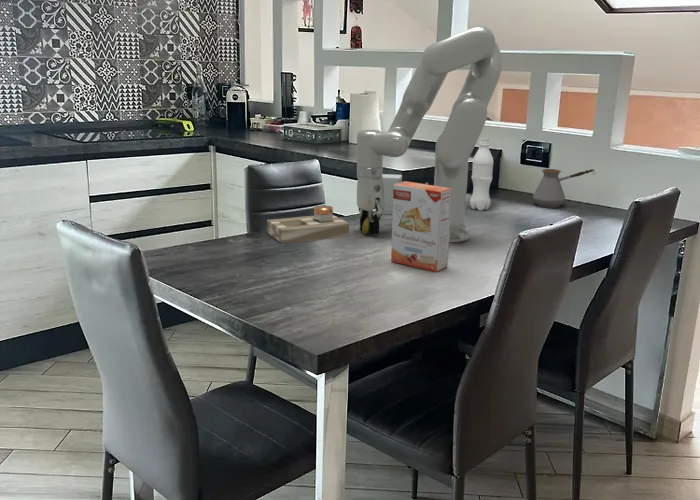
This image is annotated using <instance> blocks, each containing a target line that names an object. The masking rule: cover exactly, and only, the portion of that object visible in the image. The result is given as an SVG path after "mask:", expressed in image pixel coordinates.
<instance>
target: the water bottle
mask: <svg viewBox="0 0 700 500" xmlns="http://www.w3.org/2000/svg"><path fill="white" fill-rule="evenodd" d="M478 145H479V146H478V147H479V148H478V149H477V151H476V153H475V154H474V157H473V158H472V171H471V180H472V186H473V190H472V195H471V197H470V199H469V204H470V207H471V209H472V210H477V211H484V210H485V211H487V210H488V209H490V207H491V203H492V202H491V201H492V199H491V198H490V186H491V184H492V181H493V170H494V164H495V163H494V158H493V154H492V153H491V150H490V147H489V146H490V138H489V137H487V136H486V137H484V136H483V137H479V143H478Z"/></svg>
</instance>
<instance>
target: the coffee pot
mask: <svg viewBox="0 0 700 500" xmlns="http://www.w3.org/2000/svg"><path fill="white" fill-rule="evenodd" d="M541 171H542V172H543V174H542V175H543V176H542V178H541V180H540V182H539V183H538V186H537V187H536V190H535V191H534V193H533V195H532V200H533V201H534V203H535V204H536V205H537V206H539V207H542V208H551V209H552V208H553V209H554V208H558V207H560V205H562V204H563V203H565V201H566V196H565V193H564V190H563V187H562V185H561V184H562V183H561V181H564V180H567V179H570V178H576V177H579V176H583V175H585V174H589V173H592V175H593V176H595V173H596V171H595V169H593V168H592V169H589V170H588V169H586V170H584V171H579V172H576V173H573V174H571V175H567V176H563V177H560V176H559V175H560V173H561V170H560V169H554V168H544V169H542V170H541ZM559 177H560V178H559Z"/></svg>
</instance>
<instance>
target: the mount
mask: <svg viewBox="0 0 700 500" xmlns="http://www.w3.org/2000/svg"><path fill="white" fill-rule="evenodd" d="M266 222H267V223H266V224H267V230H266V233H267V234H268V233H269V234H268V235H269V236H271V237H272V236H273V237H272V238H273V239H275V240H276V239H277V241H278V242H279V243H281V244H282V245H285V244H293V243H294V244H295V243H302V242H311V241H319V240H330V239H337V238H338V239H339V238H346V237H350V223H349V222H347V221H346V220H344V219H342V218H340V217H338V216H336V215H334V214H333V221H332V222H322V223H318V222H317V221H315V220H314V215H309V216H306V215H305V216H297V217H287V218H286V217H285V218H276V219H275V218H274V219H267V220H266Z"/></svg>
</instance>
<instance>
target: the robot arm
mask: <svg viewBox="0 0 700 500" xmlns="http://www.w3.org/2000/svg"><path fill="white" fill-rule="evenodd" d="M501 54H502V53H501V50H500V47H499V45H498V43H497V42H496V37H495V35H494V33H493V31H492V30H491V29H489V28H488V27H486V26H484V25H483V26H482V25H480V26H479V25H478V26H474V27H472V28H471V27H470V29H466V30H464V31H462V32H459V33H457V34H454V35H452V36H450V37H447V38H444V39H442V40H439V41H437V42H433V43H431V44H429V45H428V46H427V47H426V48H425V49H424V51H423V54H422V56H421V58H420V61H419V62H418V65H417V67H416V68H415V70H414V72H413V75H412V76H411V78H410V80H409V82H408V85H407V87H406V89H405V91H404V93H403V95H402V99H401V102H400V105H399V108H398V110H397V112H396V115H395V117H394V119H393V121H392V122H391V124H390V126H389V129H388V130H387V131H383V132H382V131H381V130H378V129H362V130H359V131H358V132H357V134H356V178H357V181H356V182H357V183H356V206H357V207H358V211H359V231H361V232H363V231H362V225H363V222H364V220H365V219H366V218H367V217H369V218H370V222H369V233H368V235H369V236H374V235H375V236H376V235H379V234H380V222H381V217H382V216H383V215H384V214H383V211H384V209H385V197H384V185H383V179H382V174H383V167H384V166H383V165H384V164H383V163H384V162H383V159H384V158H383V156H384V157H390V158H399V157H402V156H403V155H405V154H406V152H407V151H408V149H409V146H410V143H411V142H412V140H413V137H414V135H415V134H416V132H417V130H418V128H419V126H420V124H421V122H422V120H423V119H424V117H425V116H426V114H427V113H428V111H429V110H430V109H431V107H432V105H433V103H434V102H435V100H436V98H437V96H438V93H439V91H440V89H441V87H442V85H443V84H444V81H445V80H446V77H447V76H448V73H451V72H453V71H456V70H459V69H462V68H464V67H466V66H468V65H470V68H469V71H468V73H467V76H466V78H465V81H464V83H463V86H462V88H461V90H460V92H459V94H458V97H457V99H456V100H455V102H454V103H453V105H452V108H451V112H450V115H449V117H448V120H447V122H446V124H445V126H444V128H443V131H442V132H441V134H440V135H439V136H438V138H437V140H436V142H435V151H434V152H435V159H434V177H433V179H434V181H433V185H434V186H439V187H446V188H451V189H452V196H451V214H450V232H449V243H462V242H466V241H468V240H469V239H470V231H466V224H465V220H466V207H467V204H466V203H467V202H466V201H467V189H468V177H469V176H468V175H469V174H468V172H469V159H470V157H471V154H472V153H473V150H474V148H475V146H476V144H477V142H478V140H479V139H480V136H481V133H482V131H483V129H484V127H485V125H486V122H487V118H488V106H489V104H490V101H491V99H492V96H494V92H495V89H496V87H497V84H498V82H499V80H500V77H501V74H502V68H503V61H502V55H501Z"/></svg>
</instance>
